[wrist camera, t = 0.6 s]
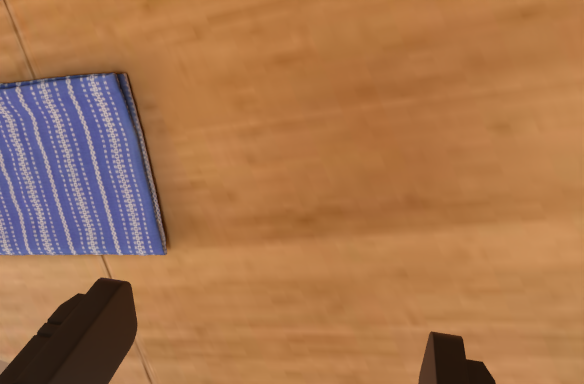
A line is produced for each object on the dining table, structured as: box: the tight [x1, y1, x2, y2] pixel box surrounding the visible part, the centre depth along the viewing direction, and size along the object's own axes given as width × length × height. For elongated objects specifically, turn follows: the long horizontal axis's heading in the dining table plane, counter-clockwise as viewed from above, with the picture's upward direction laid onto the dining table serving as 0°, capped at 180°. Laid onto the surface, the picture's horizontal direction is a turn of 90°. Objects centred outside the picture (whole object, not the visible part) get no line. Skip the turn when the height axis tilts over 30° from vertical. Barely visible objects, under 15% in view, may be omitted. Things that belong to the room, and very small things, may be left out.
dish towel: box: [0, 73, 167, 255], centre depth 46 cm, size 17×24×3 cm
